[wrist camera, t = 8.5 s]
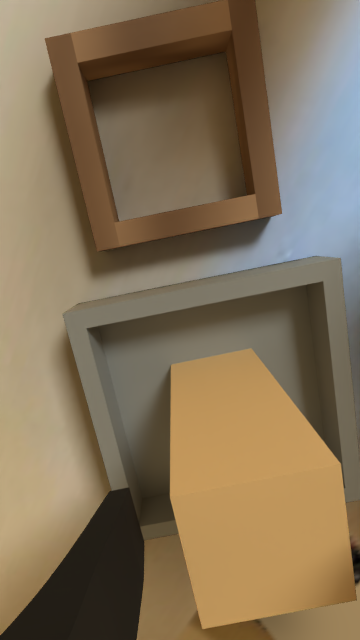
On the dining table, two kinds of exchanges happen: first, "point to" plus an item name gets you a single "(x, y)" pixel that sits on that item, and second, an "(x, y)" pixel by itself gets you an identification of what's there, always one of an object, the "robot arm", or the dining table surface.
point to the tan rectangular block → (254, 495)
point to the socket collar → (150, 51)
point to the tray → (205, 341)
